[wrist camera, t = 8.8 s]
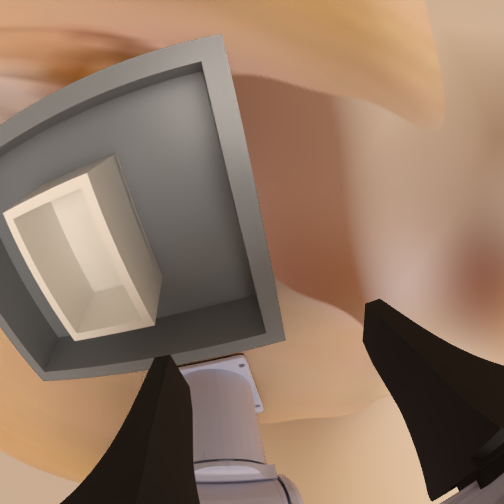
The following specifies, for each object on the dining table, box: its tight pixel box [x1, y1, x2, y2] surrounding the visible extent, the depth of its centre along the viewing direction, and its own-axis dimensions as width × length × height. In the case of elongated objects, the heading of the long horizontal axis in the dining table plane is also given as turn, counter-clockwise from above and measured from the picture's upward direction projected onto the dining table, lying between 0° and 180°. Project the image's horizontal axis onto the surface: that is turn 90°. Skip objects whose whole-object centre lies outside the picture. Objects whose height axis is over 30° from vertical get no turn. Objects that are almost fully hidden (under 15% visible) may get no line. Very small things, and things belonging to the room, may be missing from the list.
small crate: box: [3, 153, 163, 341], centre depth 14 cm, size 8×5×4 cm, turn 12°
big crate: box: [0, 34, 286, 381], centre depth 15 cm, size 16×18×4 cm
